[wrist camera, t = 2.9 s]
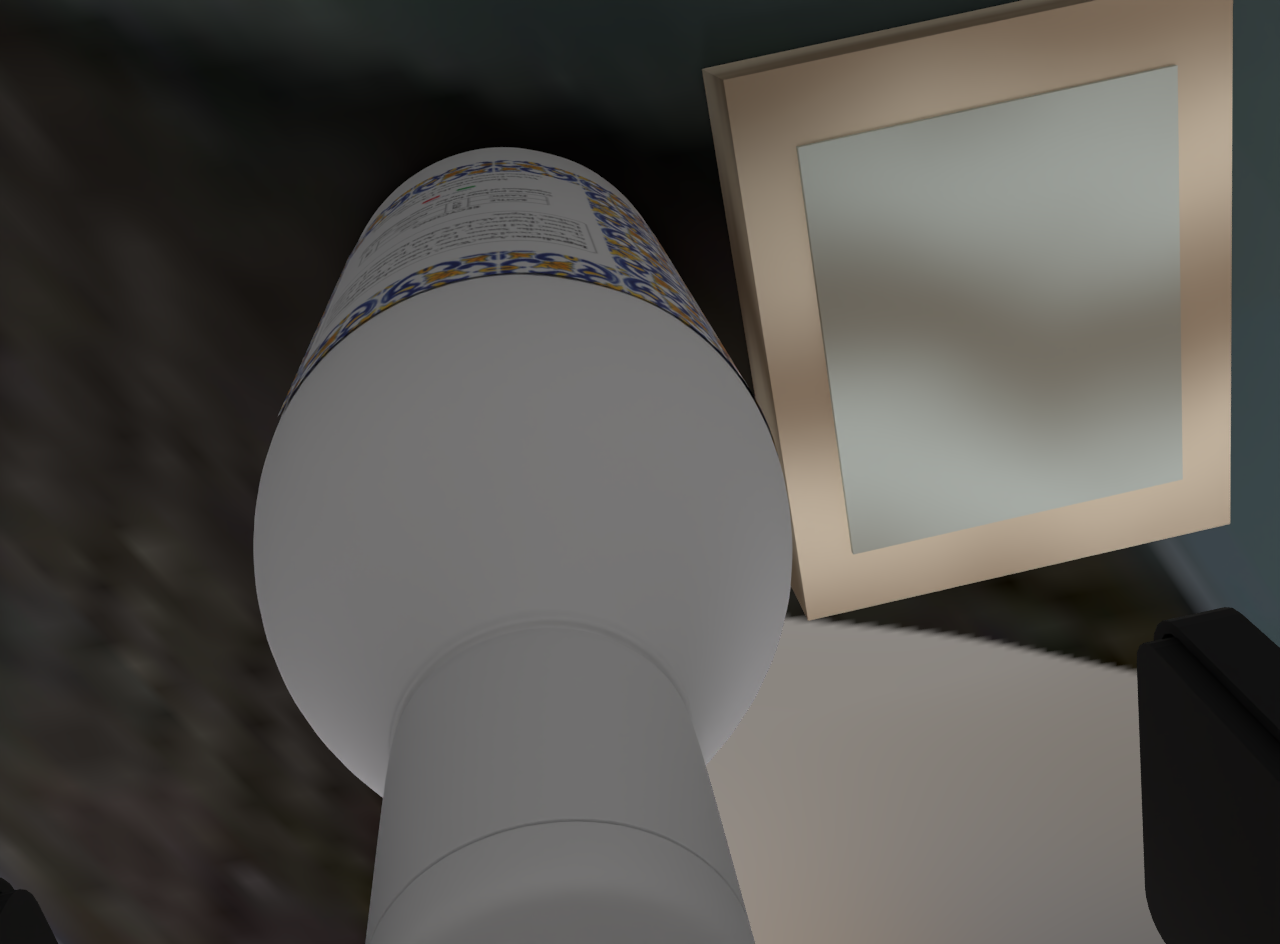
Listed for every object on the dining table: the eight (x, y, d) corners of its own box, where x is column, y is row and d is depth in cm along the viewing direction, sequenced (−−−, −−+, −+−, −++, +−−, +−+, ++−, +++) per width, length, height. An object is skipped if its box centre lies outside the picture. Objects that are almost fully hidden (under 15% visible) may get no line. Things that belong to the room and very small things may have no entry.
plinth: (701, 68, 25) (724, 80, 23) (1166, -31, 26) (1237, -30, 23) (783, 570, 30) (810, 624, 28) (1173, 481, 31) (1233, 526, 28)
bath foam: (626, 475, 29) (878, 1384, 10) (325, 421, 27) (11, 1358, 9) (701, 183, 26) (1198, 699, 8) (376, 107, 25) (82, 523, 7)
